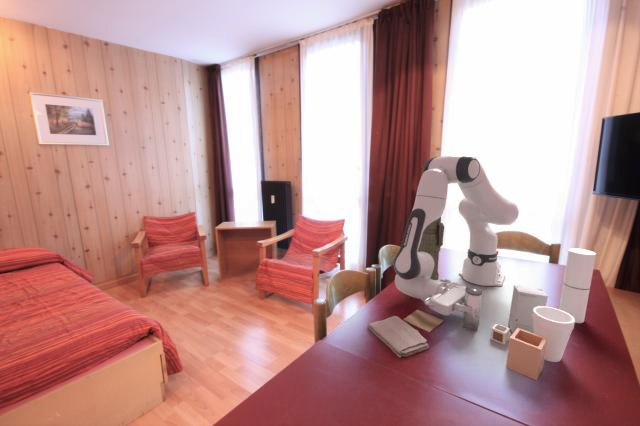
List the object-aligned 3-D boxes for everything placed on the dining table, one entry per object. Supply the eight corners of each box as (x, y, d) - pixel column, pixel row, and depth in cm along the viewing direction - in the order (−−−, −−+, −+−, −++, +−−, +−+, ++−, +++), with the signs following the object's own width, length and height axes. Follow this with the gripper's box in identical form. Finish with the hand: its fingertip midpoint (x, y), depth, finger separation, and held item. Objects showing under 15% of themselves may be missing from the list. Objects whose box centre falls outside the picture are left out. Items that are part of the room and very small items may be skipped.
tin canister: (465, 321, 104) (469, 284, 101) (480, 327, 100) (484, 289, 98) (459, 327, 101) (463, 289, 98) (474, 333, 97) (479, 294, 94)
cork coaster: (417, 310, 112) (417, 309, 112) (443, 321, 104) (443, 320, 104) (403, 320, 105) (403, 319, 105) (429, 332, 98) (429, 331, 98)
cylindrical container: (557, 317, 106) (567, 251, 101) (559, 310, 111) (569, 247, 106) (583, 325, 101) (596, 256, 96) (584, 317, 106) (596, 251, 102)
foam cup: (575, 368, 81) (583, 325, 79) (537, 363, 83) (544, 321, 80) (555, 346, 90) (561, 307, 88) (522, 343, 92) (527, 304, 90)
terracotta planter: (513, 355, 86) (517, 327, 85) (543, 367, 81) (547, 338, 80) (506, 366, 82) (509, 337, 80) (536, 380, 77) (541, 349, 75)
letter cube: (494, 334, 97) (495, 322, 96) (508, 339, 94) (510, 328, 93) (489, 339, 94) (490, 327, 93) (504, 345, 91) (505, 333, 90)
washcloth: (400, 361, 85) (401, 351, 84) (366, 328, 101) (366, 320, 100) (431, 349, 90) (432, 340, 89) (394, 320, 106) (394, 312, 105)
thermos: (433, 294, 125) (439, 213, 118) (410, 285, 134) (414, 209, 127) (444, 288, 130) (450, 210, 124) (421, 279, 139) (425, 207, 133)
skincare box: (511, 333, 97) (516, 291, 94) (507, 323, 103) (512, 284, 100) (542, 338, 94) (548, 295, 91) (536, 328, 100) (542, 287, 97)
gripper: (421, 293, 101) (462, 308, 91) (448, 277, 115) (487, 288, 104) (420, 310, 102) (461, 327, 92) (447, 292, 116) (485, 305, 106)
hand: (475, 306), depth 98 cm, fingers closed on tin canister, 5 cm apart
